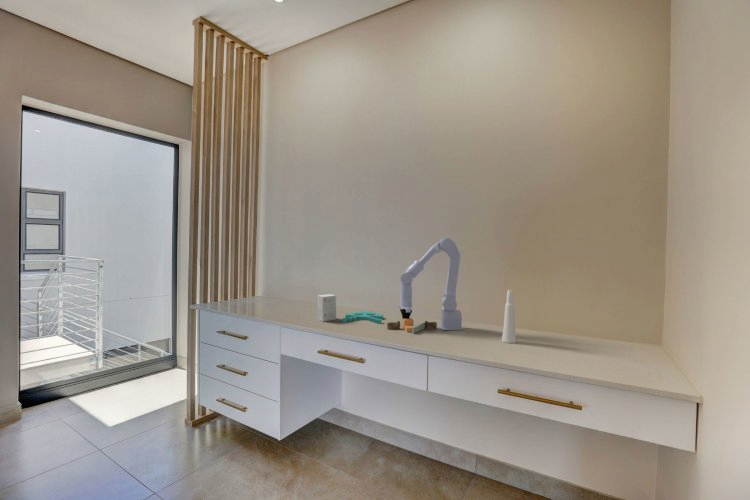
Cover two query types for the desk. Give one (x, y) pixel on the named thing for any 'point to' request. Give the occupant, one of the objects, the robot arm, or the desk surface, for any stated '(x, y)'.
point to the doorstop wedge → (408, 324)
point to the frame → (397, 325)
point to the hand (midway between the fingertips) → (405, 324)
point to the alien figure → (363, 317)
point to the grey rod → (418, 327)
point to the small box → (326, 307)
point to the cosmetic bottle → (509, 320)
